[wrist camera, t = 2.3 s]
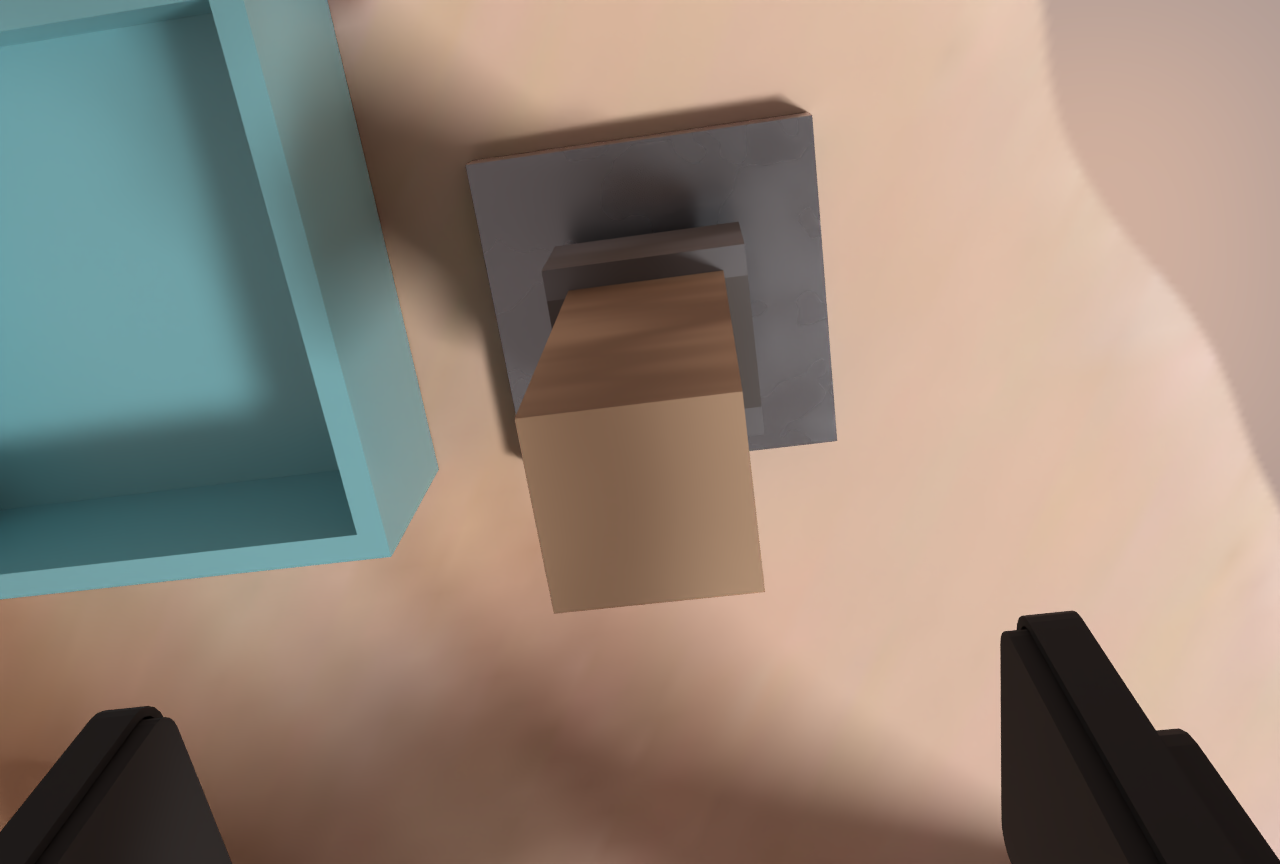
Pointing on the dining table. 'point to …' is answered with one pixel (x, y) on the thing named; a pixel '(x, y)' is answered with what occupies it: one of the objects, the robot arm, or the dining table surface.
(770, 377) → the base
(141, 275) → the bin
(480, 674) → the dining table surface
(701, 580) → the strut
